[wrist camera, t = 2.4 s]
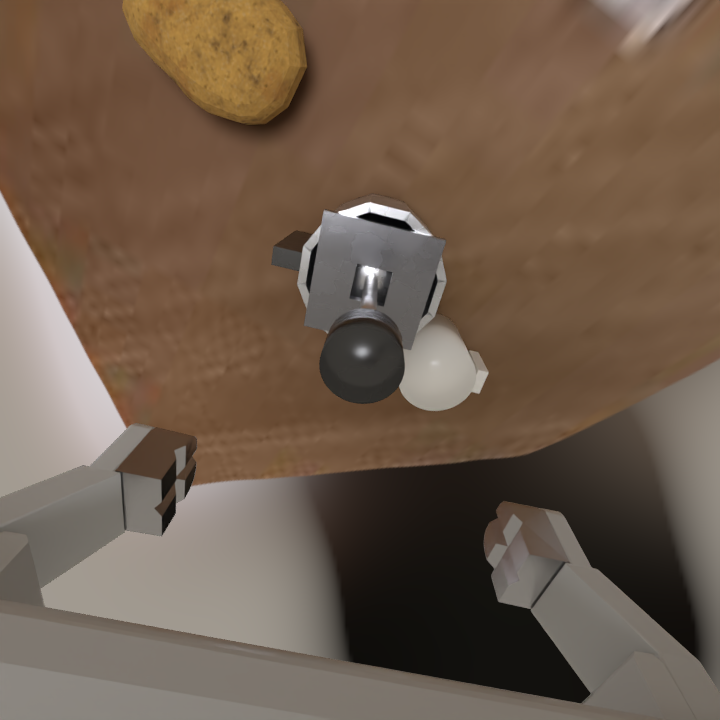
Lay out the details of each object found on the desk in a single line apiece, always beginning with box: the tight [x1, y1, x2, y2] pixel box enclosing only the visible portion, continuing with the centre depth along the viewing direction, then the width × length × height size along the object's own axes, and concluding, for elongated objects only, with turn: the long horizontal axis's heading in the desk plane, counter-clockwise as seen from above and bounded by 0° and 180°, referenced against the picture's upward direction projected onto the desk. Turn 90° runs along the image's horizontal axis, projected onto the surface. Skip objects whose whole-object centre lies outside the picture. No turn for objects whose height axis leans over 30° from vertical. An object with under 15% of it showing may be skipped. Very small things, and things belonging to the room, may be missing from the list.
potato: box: [122, 0, 307, 125], centre depth 28 cm, size 9×13×7 cm
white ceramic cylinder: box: [399, 313, 489, 411], centre depth 38 cm, size 8×7×8 cm
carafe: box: [271, 194, 447, 350], centre depth 33 cm, size 13×11×12 cm
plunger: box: [319, 264, 405, 404], centre depth 23 cm, size 8×8×15 cm
